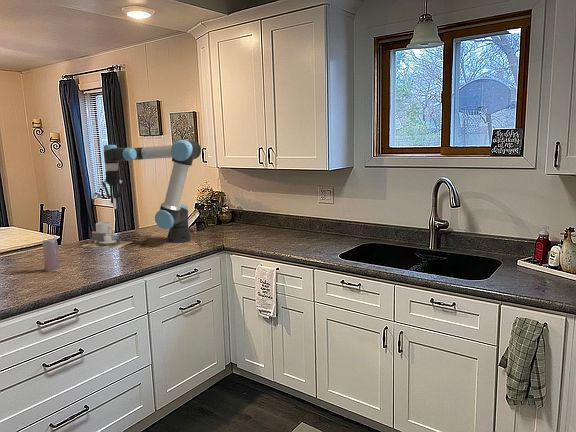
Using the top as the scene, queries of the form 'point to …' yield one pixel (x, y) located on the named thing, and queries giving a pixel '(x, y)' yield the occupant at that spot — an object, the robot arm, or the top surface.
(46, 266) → the beverage can
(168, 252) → the top surface
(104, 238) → the dial
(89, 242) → the board
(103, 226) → the mug
